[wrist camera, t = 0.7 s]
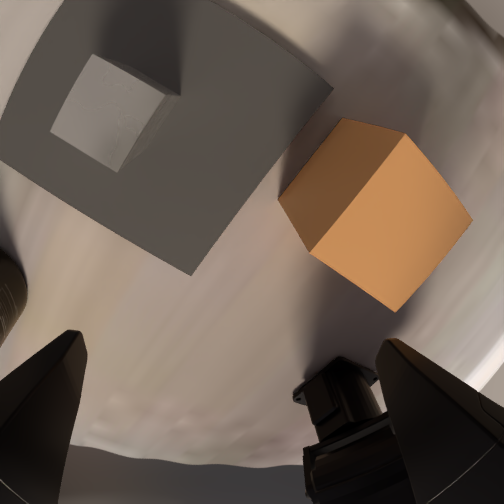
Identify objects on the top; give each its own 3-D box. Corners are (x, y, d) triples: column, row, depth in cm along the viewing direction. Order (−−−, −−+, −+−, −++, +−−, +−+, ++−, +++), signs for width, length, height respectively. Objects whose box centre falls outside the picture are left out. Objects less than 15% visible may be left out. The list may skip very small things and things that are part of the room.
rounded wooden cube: (406, 180, 20) (473, 220, 13) (348, 251, 22) (395, 312, 15) (342, 117, 17) (405, 133, 11) (277, 199, 19) (309, 252, 13)
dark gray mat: (327, 88, 16) (334, 88, 16) (191, 268, 21) (190, 276, 20) (107, -43, 11) (103, -49, 10) (-3, 149, 15) (-11, 152, 14)
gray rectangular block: (180, 96, 15) (165, 94, 10) (145, 149, 16) (117, 172, 11) (129, 65, 14) (92, 53, 9) (96, 119, 15) (49, 131, 10)
